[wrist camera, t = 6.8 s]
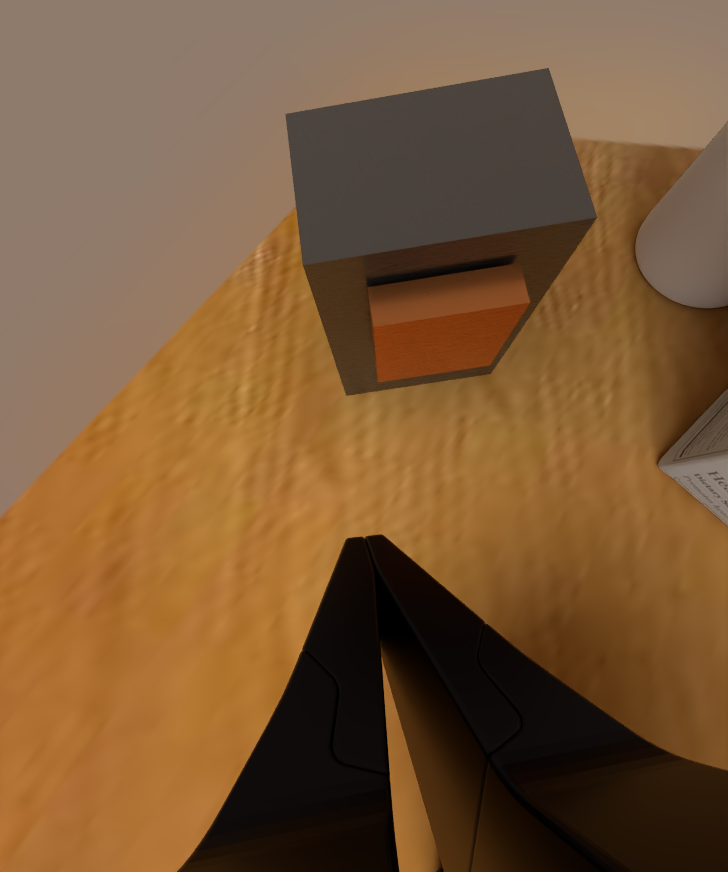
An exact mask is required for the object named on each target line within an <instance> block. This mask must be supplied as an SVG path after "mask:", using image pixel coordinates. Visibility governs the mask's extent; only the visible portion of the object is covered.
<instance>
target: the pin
mask: <svg viewBox="0 0 728 872" xmlns="http://www.w3.org/2000/svg"><path fill="white" fill-rule="evenodd" d="M367 290H368V301H369V312H370V323H371V334H372V345H373V355H374V361H375V367H376V374H377V380H378V382H385V381H391V380H398V379H404V378H411V377H418V376H424V375H431V374H437V373H444V372H451V371H457V370H464V369H470V368H477V367H483V366H490V365H491V363H492V362H493V360H494V358H495V357H496V355H497V354H498V352H499V351H500V349H501V347H502V346H503V344H504V343H505V341H506V340H507V338H508V337H509V335H510V333H511V332H512V330H513V329H514V327H515V326H516V324H517V323H518V321H519V319H520V318H521V316H522V315H523V313H524V312H525V310H526V308H527V307H528V305H529V304H530V299H529V296H528V292H527V288H526V284H525V280H524V277H523V273H522V269H521V265H520V263H517V264H511V265H505V266H498V267H492V268H486V269H479V270H473V271H467V272H461V273H454V274H448V275H442V276H436V277H429V278H423V279H417V280H411V281H404V282H398V283H392V284H386V285H379V286H373V287H367Z"/></svg>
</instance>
